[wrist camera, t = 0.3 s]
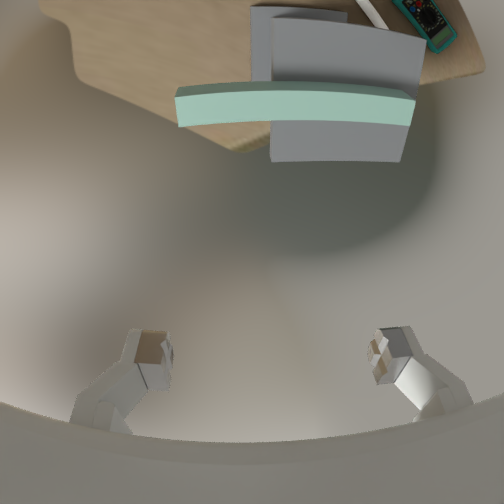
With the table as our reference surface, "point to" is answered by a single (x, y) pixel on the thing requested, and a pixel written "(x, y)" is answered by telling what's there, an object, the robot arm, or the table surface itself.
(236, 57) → the table surface
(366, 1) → the white rod
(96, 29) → the table surface
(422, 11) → the digital multimeter
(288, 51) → the stand
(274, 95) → the bar
